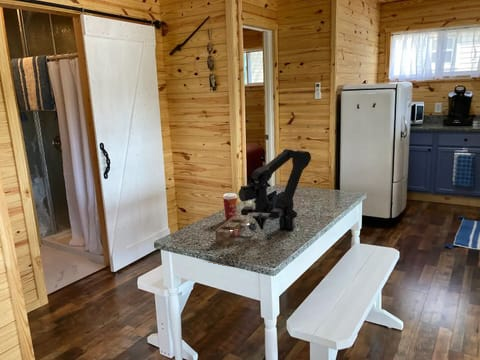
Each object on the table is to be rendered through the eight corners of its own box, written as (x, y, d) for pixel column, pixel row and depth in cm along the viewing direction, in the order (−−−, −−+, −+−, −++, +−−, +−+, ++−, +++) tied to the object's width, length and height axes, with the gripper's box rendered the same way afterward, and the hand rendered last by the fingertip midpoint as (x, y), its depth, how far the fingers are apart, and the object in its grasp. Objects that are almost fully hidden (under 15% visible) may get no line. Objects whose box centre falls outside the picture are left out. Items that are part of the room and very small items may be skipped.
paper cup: (233, 223, 203) (231, 197, 200) (221, 221, 207) (219, 195, 204) (241, 218, 209) (240, 193, 206) (229, 217, 213) (227, 192, 210)
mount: (245, 229, 193) (245, 217, 192) (228, 245, 175) (227, 231, 174) (234, 228, 195) (234, 216, 194) (216, 243, 178) (215, 230, 176)
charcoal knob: (256, 229, 187) (256, 221, 186) (253, 232, 184) (253, 224, 183) (241, 227, 190) (240, 219, 189) (237, 230, 187) (237, 222, 186)
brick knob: (240, 236, 180) (240, 227, 179) (236, 239, 176) (236, 230, 175) (224, 234, 183) (224, 226, 182) (220, 237, 180) (220, 229, 179)
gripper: (285, 193, 183) (286, 225, 187) (248, 191, 191) (250, 222, 194) (278, 200, 173) (279, 233, 177) (239, 197, 181) (241, 229, 185)
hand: (262, 229), depth 184 cm, fingers closed
